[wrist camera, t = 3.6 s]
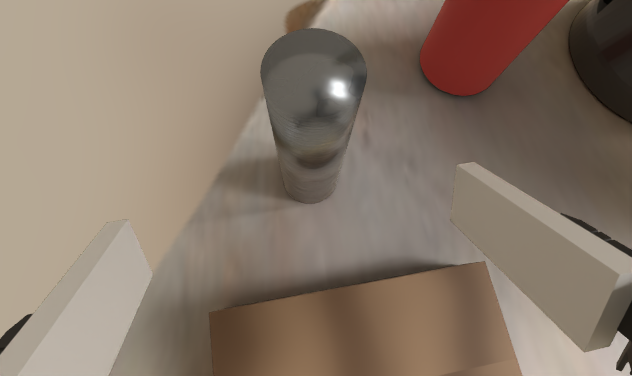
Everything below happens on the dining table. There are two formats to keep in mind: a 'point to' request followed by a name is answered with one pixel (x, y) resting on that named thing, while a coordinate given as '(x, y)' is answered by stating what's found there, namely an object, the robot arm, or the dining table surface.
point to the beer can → (480, 40)
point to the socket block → (371, 330)
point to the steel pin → (312, 107)
